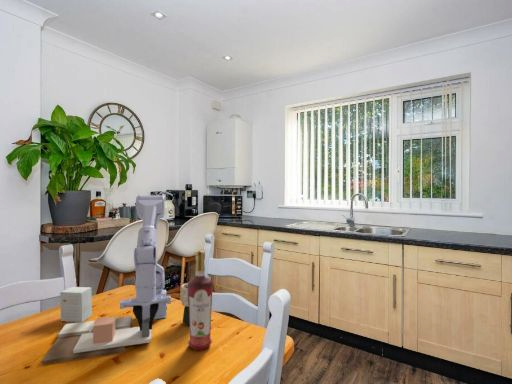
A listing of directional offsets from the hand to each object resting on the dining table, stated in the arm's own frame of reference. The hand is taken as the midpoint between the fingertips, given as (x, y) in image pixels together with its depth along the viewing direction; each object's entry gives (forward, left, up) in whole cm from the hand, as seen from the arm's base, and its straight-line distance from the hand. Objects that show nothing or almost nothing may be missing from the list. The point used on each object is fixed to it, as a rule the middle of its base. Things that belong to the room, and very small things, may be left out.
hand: (146, 328), depth 90 cm
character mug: (-15, -7, -4) cm, 17 cm away
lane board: (+15, -5, -3) cm, 17 cm away
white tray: (+8, 0, -2) cm, 9 cm away
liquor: (-16, +9, -4) cm, 18 cm away
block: (+11, 0, -1) cm, 12 cm away
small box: (+24, -22, -4) cm, 33 cm away
